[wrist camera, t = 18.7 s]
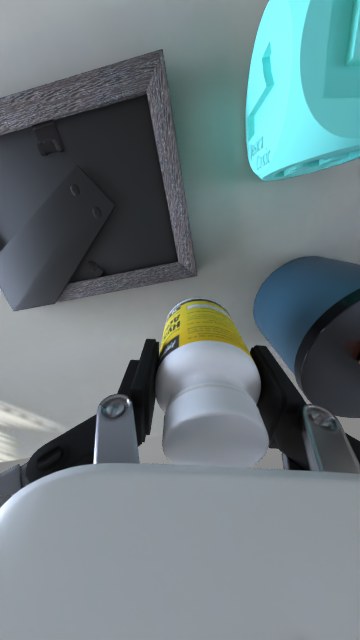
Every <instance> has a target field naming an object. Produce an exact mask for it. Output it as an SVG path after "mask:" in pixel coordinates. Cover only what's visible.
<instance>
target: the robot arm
mask: <svg viewBox="0 0 360 640" xmlns="http://www.w3.org/2000/svg"><path fill="white" fill-rule="evenodd" d="M250 355H251V357H252V359H253V361H254V363H255V365H256V367H257V369H258V372H259V375H260V379H261V393H260V397H259V400H258V402H257V404H256V406H257V408H258V410H259V412H260V415H261V418H262V420H263V423H264V425H265V428H266V430H267V433H268V437H269V446H268V447H269V448H277V449H279V450H280V451H281V452H282V461H283V468H284V470H281V469H261V468H240V467H217V466H193V465H169V464H140V462H139V454H138V446H139V445H141V444H142V442H145V437H146V435H150V430H151V424H152V417H153V411H154V404H155V398H156V396H155V377H156V371H157V365H158V360H159V342H156V339H146V341H145V344H144V348H143V351H142V354H141V357H140V360H130V362H129V365H128V368H127V370H126V373H125V375H124V378H123V380H122V383H121V385H120V388H119V391H118V393H117V394H114V395H111V396H108V397H107V398H105V399H104V400H103V401H102V402H101V403H100V404H99V406H98V409H97V414H96V415H94V416H93V417H91V418H89V419H88V420H86V421H84V422H83V423H81V424H79V425H77V426H76V427H74V428H72V429H71V430H69V431H67V432H65V433H64V434H62V435H60V436H59V437H57V438H55V439H54V440H52V441H50V442H48V443H47V444H45V445H44V446H42V447H41V448H40V449H38V450H37V451H36V452H35V453H34V454H33V455H32V457H31V458H30V460H29V461H28V462H27V463H26V464H24V465H22V466H20V465H19V464H18V465H16V466H14V467H12V468H10V469H9V470H7V471H5V472H3V473H1V474H0V640H360V441H358V440H357V439H355V438H353V437H351V436H349V435H348V434H346V433H345V432H344V430H343V428H342V426H341V424H340V422H339V420H338V419H337V418H336V417H335V416H334V415H333V414H332V413H331V412H330V411H328V410H327V409H325V408H323V407H321V406H318V405H314V404H306V402H305V401H304V400H303V397H302V396H301V395H300V393H299V392H298V390H297V389H296V388H295V386H294V385H293V383H292V382H291V381H290V379H289V378H288V376H287V375H286V374H285V372H284V371H283V369H282V368H281V367H280V365H279V364H278V362H277V361H276V360H275V358H274V357H273V355H272V354H271V353H270V351H269V350H268V348H267V347H266V346H259V345H256V346H254V348H253V347H252V348H251V351H250Z"/></svg>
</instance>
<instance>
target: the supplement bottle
mask: <svg viewBox="0 0 360 640" xmlns="http://www.w3.org/2000/svg"><path fill="white" fill-rule="evenodd" d="M260 393H261V379H260V375H259V372H258V369H257V367H256V365H255V363H254V361H253V359H252V357H251V355H250V353H249V351H248V349H247V347H246V345H245V344H244V342H243V340H242V338H241V336H240V334H239V332H238V330H237V328H236V327H235V325H234V323H233V321H232V319H231V317H230V315H229V314H228V312H227V311H226V309H225V308H224V307H223V306H222V305H221V304H219V303H218V302H216V301H214V300H212V299H209V298H203V297H196V298H190V299H187V300H184V301H182V302H180V303H179V304H178V305H176V306H175V307H174V308H173V309H172V310H171V312H170V313H169V315H168V317H167V320H166V324H165V328H164V334H163V339H162V344H161V349H160V355H159V360H158V365H157V371H156V377H155V396H156V399H157V402H158V404H159V406H160V408H161V409H162V410H163V412H164V413H165V416H164V428H163V440H162V446H163V451H164V454H165V456H166V457H167V459H168V460H169V461H170V462H171V463H172V464H173V465H193V466H217V467H240V468H251V467H252V466H253V465H255V464H256V463H258V462H259V461H260V460H261V459H262V458H263V456H264V455H265V454H266V452H267V450H268V446H269V437H268V433H267V430H266V428H265V425H264V423H263V420H262V418H261V415H260V412H259V410H258V408H257V406H256V404H257V402H258V400H259V397H260Z"/></svg>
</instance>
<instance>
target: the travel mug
mask: <svg viewBox="0 0 360 640" xmlns="http://www.w3.org/2000/svg"><path fill="white" fill-rule="evenodd" d="M253 313H254V319H255V322H256V325H257V327H258V328H259V330H260V331H261V332H262V334H263V335H264V336H265V338H266V339H267V340H268V341H269V343H270V344H271V345H272V347H273V348H274V349H275V351H276V352H277V353H278V354H279V356H280V357H281V358H282V360H283V361H284V362H285V364H286V365H287V366H288V367H289V369H290V370H291V371H292V373H293V374H294V375H295V378H296V381H297V384H298V386H299V388H300V389H301V391H302V392H303V393H304V395H305V396H306V397H307V399H308V400H309V401H310V402H311V403H312V404H314V405H318V406H321V407H323V408H325V409H327V410H328V411H330V412H331V413H332V414H333V415H335V416H340V417H347V418H360V364H359V362H360V265H359V264H354V263H349V262H344V261H339V260H335V259H330V258H325V257H318V256H309V257H303V258H299V259H295V260H293V261H290V262H288V263H286V264H284V265H283V266H281V267H280V268H278V269H277V270H275V271H274V272H273V273H272V274H271V275H270V276H269V277H268V278H267V279H266V280H265V282H264V283H263V284H262V286H261V287H260V289H259V291H258V293H257V295H256V298H255V302H254V310H253Z"/></svg>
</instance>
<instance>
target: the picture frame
mask: <svg viewBox="0 0 360 640" xmlns="http://www.w3.org/2000/svg"><path fill="white" fill-rule="evenodd" d="M194 276H197V271H196V265H195V258H194V252H193V245H192V239H191V232H190V226H189V219H188V213H187V206H186V200H185V193H184V187H183V180H182V173H181V167H180V160H179V154H178V147H177V141H176V134H175V128H174V121H173V115H172V108H171V102H170V95H169V89H168V82H167V76H166V69H165V62H164V56H163V49H161V50H158V51H154V52H151V53H148V54H144V55H141V56H138V57H134V58H131V59H128V60H125V61H121V62H118V63H115V64H111V65H108V66H105V67H101V68H98V69H95V70H92V71H88V72H85V73H82V74H78V75H75V76H72V77H68V78H65V79H62V80H58V81H55V82H52V83H49V84H45V85H42V86H39V87H35V88H32V89H29V90H25V91H22V92H19V93H16V94H12V95H9V96H6V97H2V98H0V289H1V290H2V292H3V294H4V296H5V297H6V299H7V301H8V303H9V304H10V306H11V308H12V309H13V311H18V310H24V309H29V308H34V307H40V306H45V305H50V304H55V303H56V302H61V301H67V300H72V299H77V298H83V297H88V296H93V295H99V294H104V293H109V292H114V291H120V290H125V289H130V288H136V287H141V286H146V285H152V284H157V283H162V282H167V281H173V280H178V279H183V278H189V277H194Z"/></svg>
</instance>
